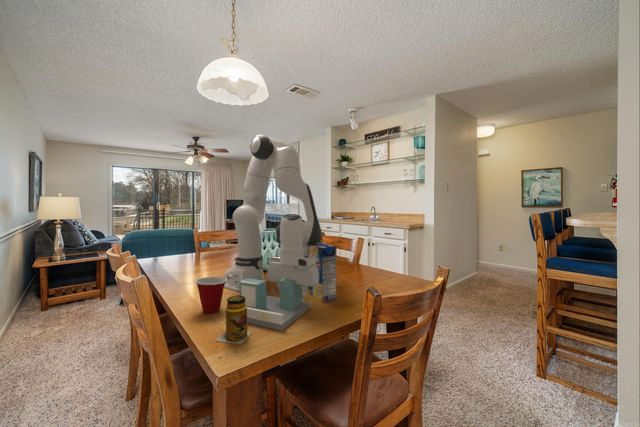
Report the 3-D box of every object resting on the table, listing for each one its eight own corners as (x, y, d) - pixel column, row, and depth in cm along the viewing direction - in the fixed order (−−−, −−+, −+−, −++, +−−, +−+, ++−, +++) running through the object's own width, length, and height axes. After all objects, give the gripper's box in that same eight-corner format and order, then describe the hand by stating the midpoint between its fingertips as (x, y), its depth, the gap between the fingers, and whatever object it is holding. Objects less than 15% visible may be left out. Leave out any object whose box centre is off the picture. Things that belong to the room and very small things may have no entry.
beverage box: (322, 302, 108) (322, 248, 107) (309, 294, 118) (309, 244, 116) (336, 299, 111) (336, 246, 110) (323, 291, 121) (323, 243, 120)
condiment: (242, 344, 77) (241, 302, 76) (214, 341, 78) (214, 301, 77) (252, 331, 84) (252, 294, 83) (227, 329, 85) (226, 292, 85)
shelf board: (231, 319, 92) (231, 305, 92) (265, 300, 110) (265, 288, 110) (281, 331, 84) (281, 315, 84) (309, 307, 102) (309, 294, 102)
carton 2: (290, 300, 105) (290, 274, 104) (302, 302, 102) (302, 276, 102) (279, 308, 97) (279, 280, 97) (292, 310, 95) (292, 282, 95)
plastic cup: (232, 310, 100) (232, 278, 99) (203, 319, 92) (203, 285, 91) (219, 302, 107) (218, 273, 107) (191, 311, 100) (190, 279, 99)
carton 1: (239, 309, 96) (238, 281, 95) (248, 304, 100) (248, 277, 100) (257, 313, 92) (257, 284, 92) (266, 308, 97) (266, 280, 97)
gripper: (263, 257, 100) (264, 294, 101) (313, 262, 92) (313, 301, 93) (272, 254, 106) (273, 289, 107) (320, 258, 98) (320, 295, 99)
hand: (292, 295), depth 100 cm, fingers open, 7 cm apart
